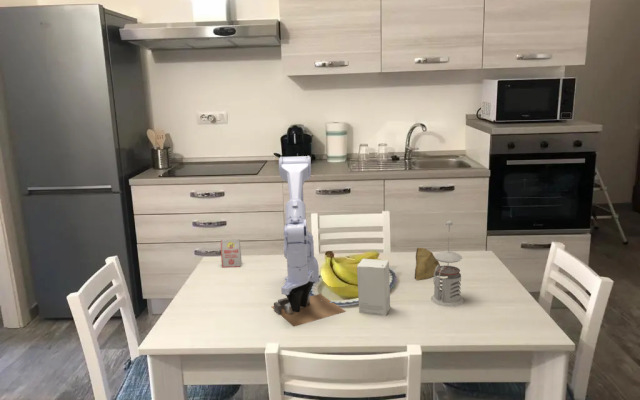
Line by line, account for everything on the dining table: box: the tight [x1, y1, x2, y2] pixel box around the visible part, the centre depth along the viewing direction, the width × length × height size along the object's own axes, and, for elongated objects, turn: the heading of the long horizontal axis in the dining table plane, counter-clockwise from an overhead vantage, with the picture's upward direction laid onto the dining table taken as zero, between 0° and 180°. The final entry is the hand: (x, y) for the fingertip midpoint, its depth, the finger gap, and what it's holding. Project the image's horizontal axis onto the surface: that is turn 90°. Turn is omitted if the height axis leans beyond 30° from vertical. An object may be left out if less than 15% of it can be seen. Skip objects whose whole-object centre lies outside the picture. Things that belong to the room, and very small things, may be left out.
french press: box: [430, 220, 464, 307], centre depth 155 cm, size 10×12×25 cm
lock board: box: [271, 293, 347, 327], centre depth 153 cm, size 17×15×4 cm
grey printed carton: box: [220, 239, 243, 269], centre depth 192 cm, size 4×7×10 cm, turn 91°
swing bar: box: [284, 294, 311, 315], centre depth 153 cm, size 9×2×3 cm, turn 138°
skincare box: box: [356, 258, 391, 316], centre depth 150 cm, size 8×7×16 cm
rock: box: [414, 247, 441, 281], centre depth 177 cm, size 11×9×10 cm
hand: (299, 308), depth 150 cm, fingers open, 3 cm apart
